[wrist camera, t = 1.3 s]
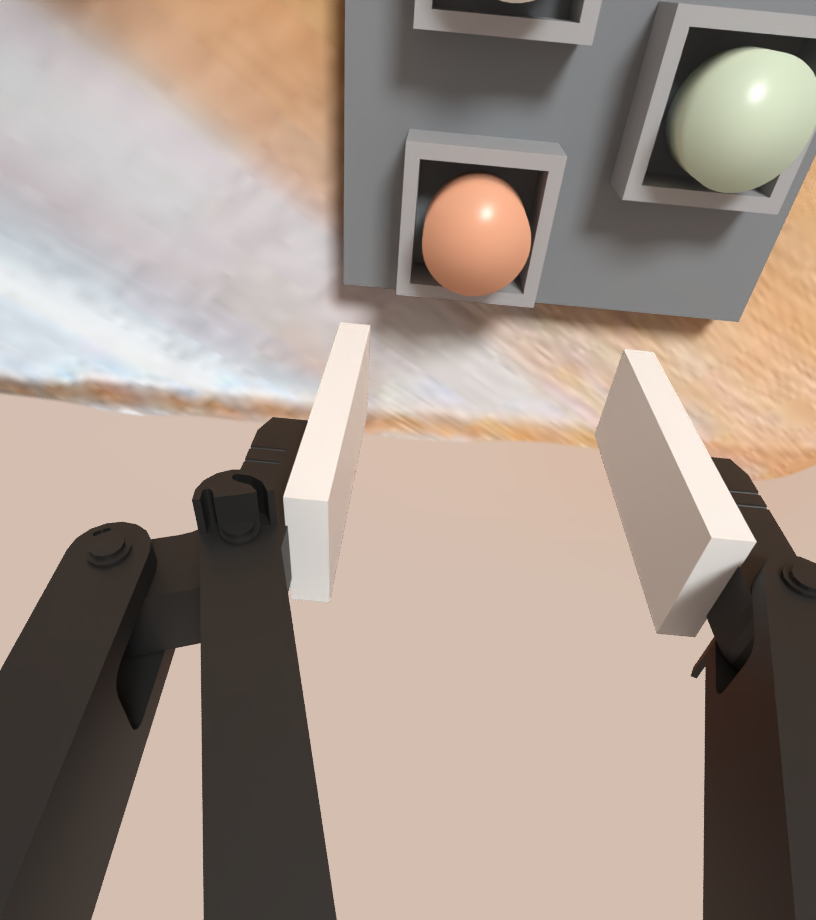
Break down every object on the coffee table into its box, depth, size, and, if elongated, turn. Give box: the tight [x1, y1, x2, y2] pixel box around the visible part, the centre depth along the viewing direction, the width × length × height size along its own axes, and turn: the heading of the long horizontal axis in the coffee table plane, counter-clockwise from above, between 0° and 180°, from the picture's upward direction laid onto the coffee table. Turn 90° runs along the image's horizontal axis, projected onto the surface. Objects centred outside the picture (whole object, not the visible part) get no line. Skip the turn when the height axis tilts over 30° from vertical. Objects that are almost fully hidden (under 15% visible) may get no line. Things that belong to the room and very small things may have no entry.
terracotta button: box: [422, 171, 531, 296], centre depth 25 cm, size 4×4×2 cm
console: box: [343, 0, 816, 322], centre depth 24 cm, size 20×18×4 cm
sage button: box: [666, 46, 816, 193], centre depth 22 cm, size 4×4×2 cm
